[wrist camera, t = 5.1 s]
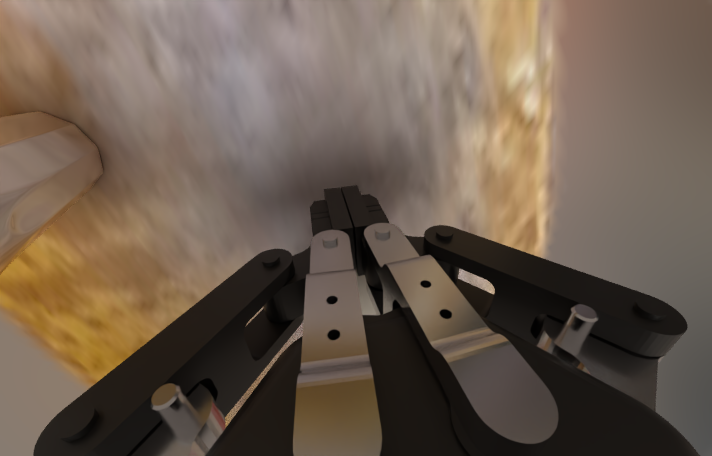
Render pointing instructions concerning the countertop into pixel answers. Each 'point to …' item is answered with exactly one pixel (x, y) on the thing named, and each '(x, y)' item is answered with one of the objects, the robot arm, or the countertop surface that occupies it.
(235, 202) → the countertop surface
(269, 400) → the robot arm
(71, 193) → the milkshake
